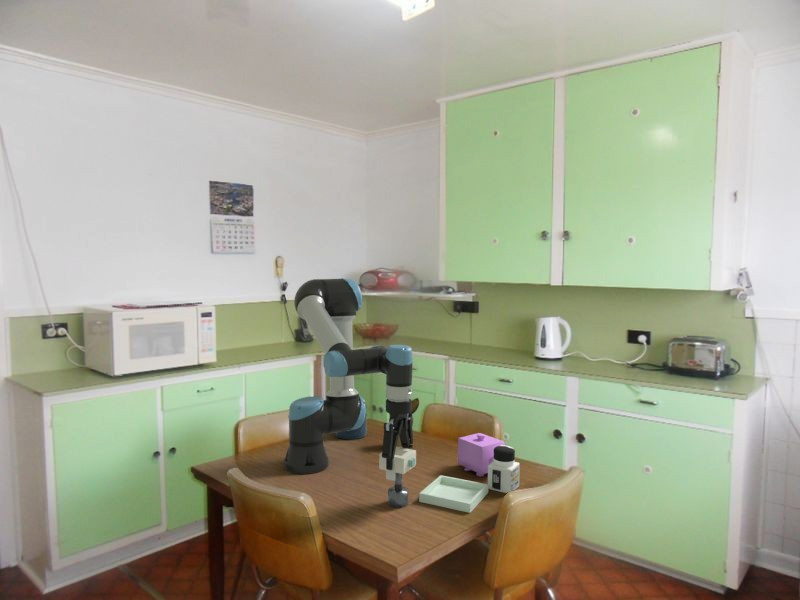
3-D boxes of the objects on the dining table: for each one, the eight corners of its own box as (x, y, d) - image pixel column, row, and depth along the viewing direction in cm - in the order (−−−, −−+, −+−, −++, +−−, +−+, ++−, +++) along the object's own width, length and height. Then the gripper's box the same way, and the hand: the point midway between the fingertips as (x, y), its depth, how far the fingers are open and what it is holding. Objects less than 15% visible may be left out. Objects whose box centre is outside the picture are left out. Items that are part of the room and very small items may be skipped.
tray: (419, 501, 171) (419, 493, 171) (440, 483, 185) (440, 475, 185) (470, 512, 163) (470, 504, 163) (488, 492, 178) (488, 484, 177)
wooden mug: (424, 446, 221) (425, 400, 220) (394, 452, 214) (394, 404, 213) (412, 440, 229) (412, 395, 227) (382, 445, 221) (382, 399, 220)
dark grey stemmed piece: (384, 505, 168) (384, 469, 167) (393, 497, 174) (394, 462, 173) (402, 509, 165) (402, 472, 165) (411, 501, 171) (412, 466, 170)
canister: (369, 430, 240) (369, 389, 239) (364, 440, 227) (364, 396, 226) (338, 429, 241) (338, 388, 240) (332, 439, 229) (331, 395, 227)
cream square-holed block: (379, 469, 167) (379, 454, 167) (392, 460, 174) (392, 445, 174) (407, 475, 163) (407, 459, 163) (419, 465, 170) (419, 451, 170)
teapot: (453, 466, 200) (453, 430, 199) (474, 460, 206) (475, 426, 205) (493, 484, 184) (494, 446, 183) (515, 477, 190) (516, 440, 189)
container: (510, 494, 176) (511, 453, 175) (487, 489, 180) (487, 448, 179) (519, 486, 183) (520, 446, 182) (496, 481, 187) (497, 441, 186)
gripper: (393, 409, 156) (392, 490, 158) (425, 392, 175) (424, 465, 177) (369, 405, 160) (368, 484, 162) (403, 389, 178) (402, 460, 180)
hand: (397, 474), depth 169 cm, fingers closed on cream square-holed block, 8 cm apart
